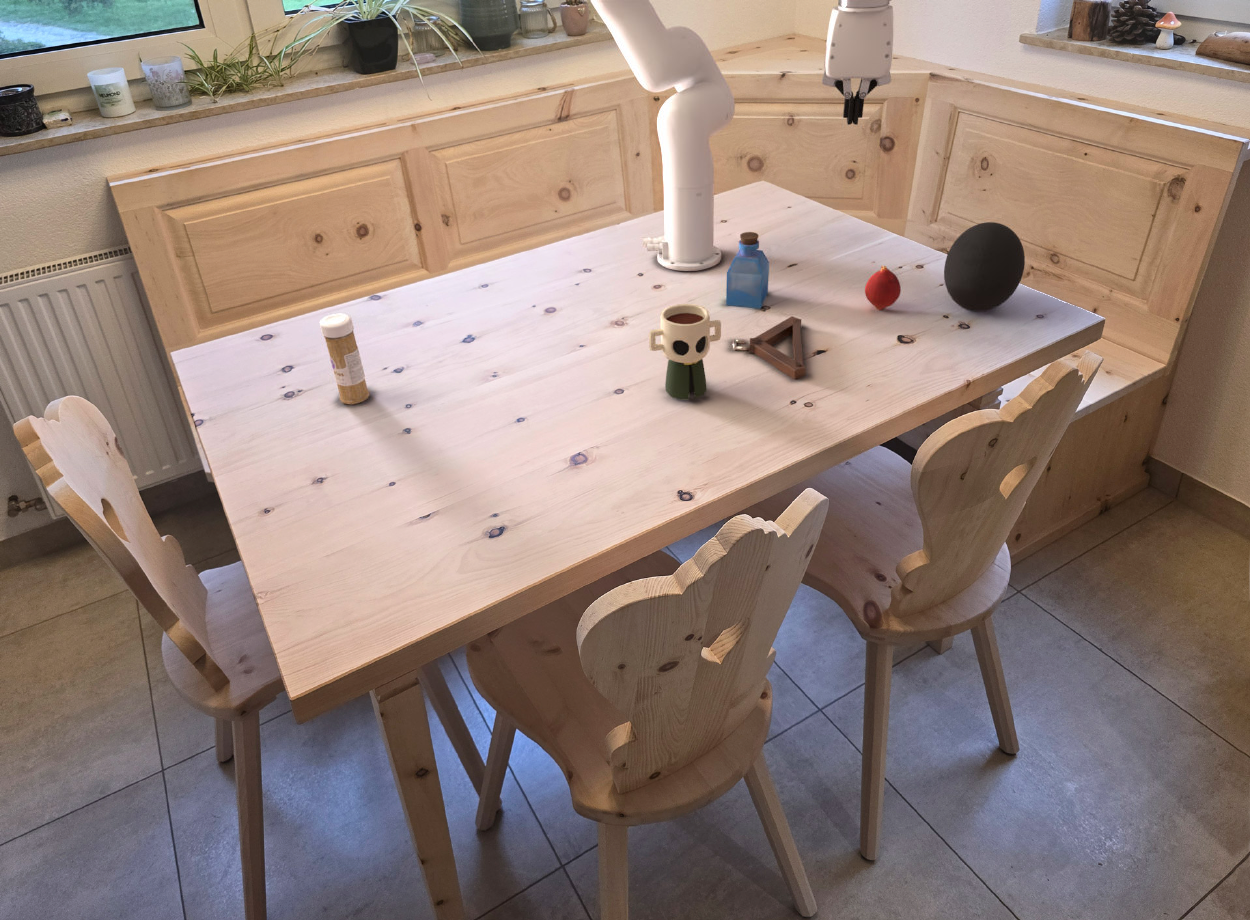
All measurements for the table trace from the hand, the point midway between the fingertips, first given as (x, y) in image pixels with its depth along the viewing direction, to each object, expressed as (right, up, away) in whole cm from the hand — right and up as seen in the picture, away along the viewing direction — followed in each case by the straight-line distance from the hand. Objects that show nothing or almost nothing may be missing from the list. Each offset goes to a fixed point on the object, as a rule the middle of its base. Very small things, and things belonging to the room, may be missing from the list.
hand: (852, 122), depth 146 cm
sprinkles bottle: (-79, -46, -7) cm, 92 cm away
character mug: (-28, -45, -11) cm, 54 cm away
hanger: (-14, -38, -2) cm, 40 cm away
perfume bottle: (-15, -27, +14) cm, 34 cm away
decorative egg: (+23, -30, +7) cm, 38 cm away
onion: (+7, -29, +9) cm, 31 cm away
